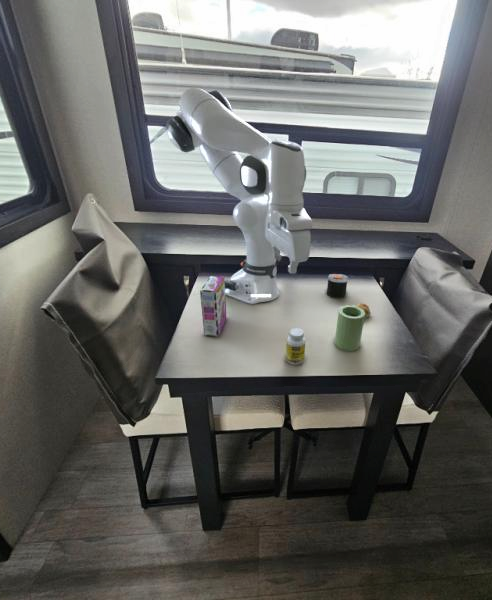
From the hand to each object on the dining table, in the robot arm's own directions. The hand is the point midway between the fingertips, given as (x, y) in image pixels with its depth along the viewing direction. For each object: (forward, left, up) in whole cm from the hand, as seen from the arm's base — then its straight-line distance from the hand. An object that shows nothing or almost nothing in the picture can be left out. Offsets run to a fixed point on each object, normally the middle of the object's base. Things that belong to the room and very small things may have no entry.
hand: (284, 266), depth 84 cm
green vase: (+18, +11, -28) cm, 35 cm away
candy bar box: (-25, +2, -28) cm, 37 cm away
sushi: (+6, +44, -28) cm, 53 cm away
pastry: (+18, +30, -28) cm, 45 cm away
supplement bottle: (+5, -3, -28) cm, 29 cm away
